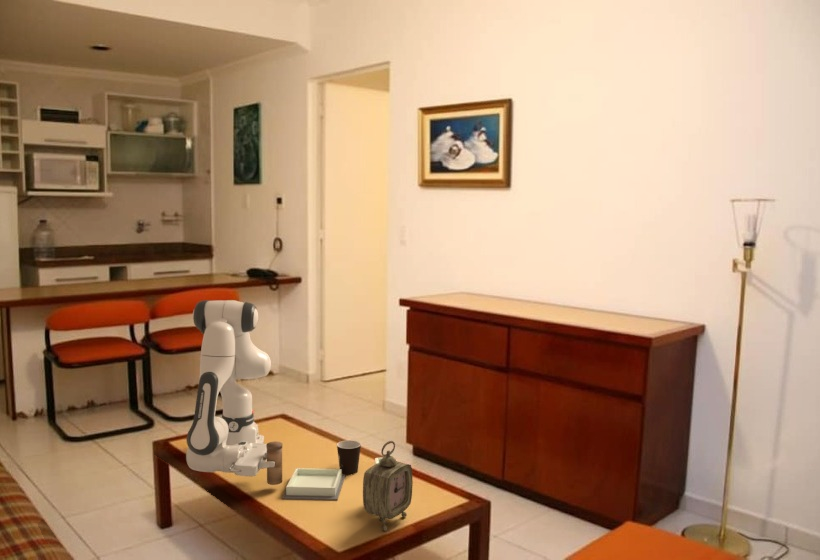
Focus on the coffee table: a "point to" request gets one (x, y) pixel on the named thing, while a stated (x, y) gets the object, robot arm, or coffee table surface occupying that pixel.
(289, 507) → the coffee table surface
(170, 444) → the coffee table surface
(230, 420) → the robot arm
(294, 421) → the coffee table surface
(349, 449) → the coffee mug
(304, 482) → the dish
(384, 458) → the tabletop clock
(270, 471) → the canister
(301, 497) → the mat
